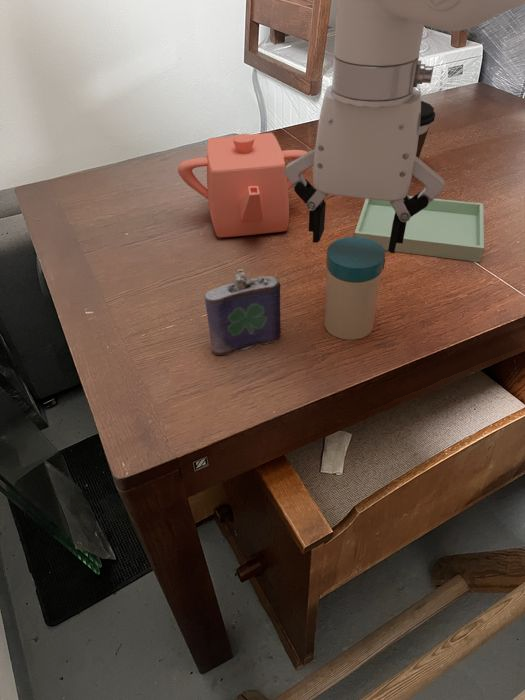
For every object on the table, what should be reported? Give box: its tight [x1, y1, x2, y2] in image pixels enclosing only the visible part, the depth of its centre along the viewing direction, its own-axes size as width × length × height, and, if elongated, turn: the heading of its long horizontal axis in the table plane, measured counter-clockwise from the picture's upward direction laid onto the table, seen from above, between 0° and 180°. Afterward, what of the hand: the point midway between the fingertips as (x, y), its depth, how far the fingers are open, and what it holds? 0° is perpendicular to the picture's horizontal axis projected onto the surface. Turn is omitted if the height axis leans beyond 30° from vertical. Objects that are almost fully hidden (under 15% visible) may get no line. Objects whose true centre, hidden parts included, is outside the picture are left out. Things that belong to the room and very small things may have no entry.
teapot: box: [177, 132, 309, 238], centre depth 82 cm, size 20×22×14 cm
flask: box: [204, 268, 282, 356], centre depth 61 cm, size 9×3×11 cm, turn 109°
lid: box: [325, 236, 386, 282], centre depth 60 cm, size 7×7×2 cm
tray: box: [353, 195, 485, 263], centre depth 82 cm, size 19×14×2 cm
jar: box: [323, 268, 383, 341], centre depth 63 cm, size 7×7×11 cm
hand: (354, 241), depth 59 cm, fingers open, 8 cm apart
